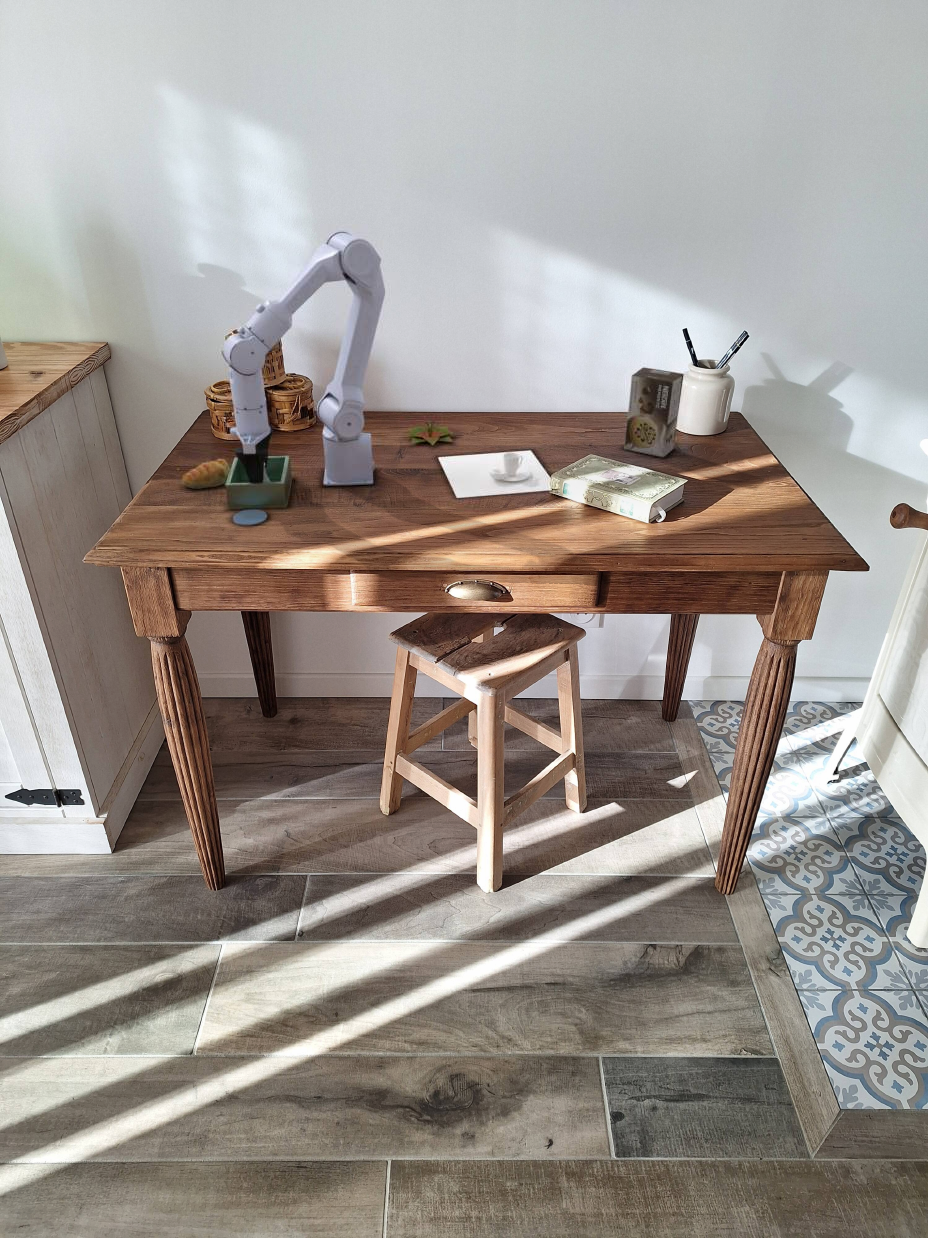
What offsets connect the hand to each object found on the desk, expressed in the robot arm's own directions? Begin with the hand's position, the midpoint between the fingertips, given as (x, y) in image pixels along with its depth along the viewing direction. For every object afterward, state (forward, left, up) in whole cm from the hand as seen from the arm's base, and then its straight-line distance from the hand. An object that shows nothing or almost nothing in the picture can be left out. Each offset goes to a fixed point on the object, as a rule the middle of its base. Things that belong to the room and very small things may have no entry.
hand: (259, 475), depth 159 cm
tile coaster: (+1, +10, -4) cm, 11 cm away
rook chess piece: (0, 0, -4) cm, 4 cm away
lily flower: (-34, -26, -4) cm, 43 cm away
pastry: (+10, -6, -4) cm, 13 cm away
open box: (0, 0, -4) cm, 4 cm away
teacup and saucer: (-46, -6, -4) cm, 46 cm away
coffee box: (-80, -16, -4) cm, 81 cm away
